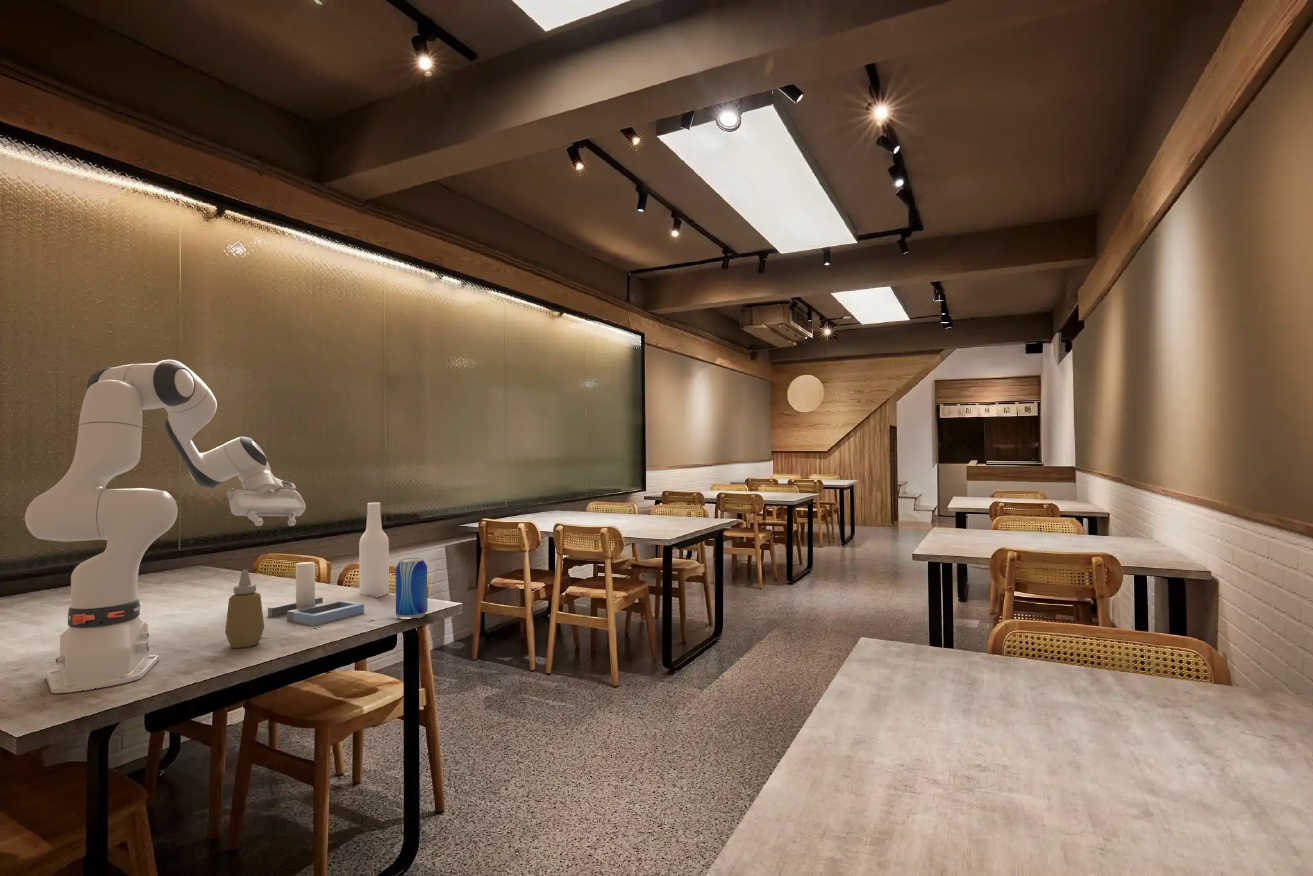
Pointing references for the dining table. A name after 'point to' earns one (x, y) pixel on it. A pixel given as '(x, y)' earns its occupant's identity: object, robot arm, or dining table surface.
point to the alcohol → (374, 555)
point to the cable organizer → (316, 611)
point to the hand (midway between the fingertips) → (276, 524)
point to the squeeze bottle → (244, 614)
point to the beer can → (411, 588)
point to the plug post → (305, 584)
